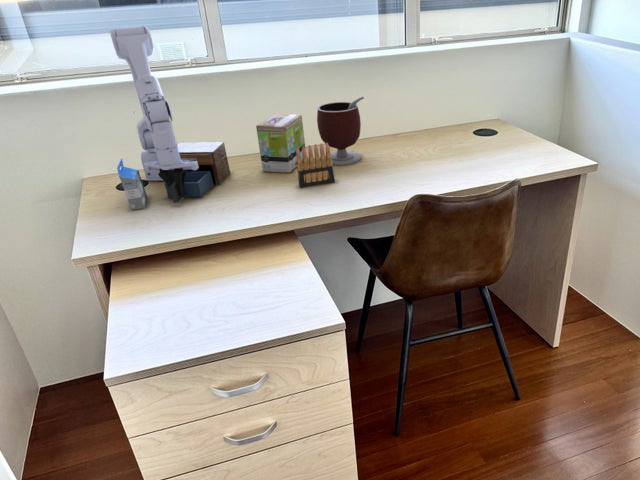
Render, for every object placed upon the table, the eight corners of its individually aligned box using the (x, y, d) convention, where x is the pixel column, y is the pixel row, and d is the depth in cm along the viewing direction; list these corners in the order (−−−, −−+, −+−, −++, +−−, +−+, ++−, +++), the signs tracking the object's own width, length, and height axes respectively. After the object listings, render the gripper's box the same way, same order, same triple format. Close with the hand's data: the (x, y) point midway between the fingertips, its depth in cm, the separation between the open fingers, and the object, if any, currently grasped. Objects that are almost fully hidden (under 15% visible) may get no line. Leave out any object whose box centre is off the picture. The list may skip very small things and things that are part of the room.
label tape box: (145, 208, 156) (132, 165, 150) (129, 210, 155) (116, 167, 149) (147, 197, 163) (135, 156, 157) (133, 199, 162) (120, 157, 156)
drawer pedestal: (218, 187, 168) (210, 153, 163) (173, 187, 169) (164, 154, 164) (230, 173, 178) (223, 141, 173) (188, 174, 179) (180, 142, 174)
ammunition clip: (333, 180, 170) (329, 141, 163) (335, 182, 168) (331, 142, 162) (298, 186, 167) (293, 146, 160) (300, 188, 165) (294, 148, 159)
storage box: (159, 206, 157) (153, 186, 154) (181, 185, 170) (176, 166, 167) (194, 206, 156) (188, 185, 153) (213, 185, 170) (209, 166, 166)
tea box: (291, 173, 176) (284, 126, 169) (262, 172, 178) (254, 125, 170) (307, 157, 189) (302, 113, 181) (279, 157, 191) (273, 112, 183)
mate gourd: (318, 166, 181) (310, 102, 170) (325, 152, 193) (318, 92, 182) (365, 165, 180) (361, 101, 169) (369, 152, 192) (365, 91, 181)
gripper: (133, 151, 148) (147, 199, 155) (186, 150, 147) (198, 199, 154) (145, 143, 154) (158, 190, 161) (196, 142, 153) (207, 189, 160)
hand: (178, 194), depth 158 cm, fingers closed on storage box
